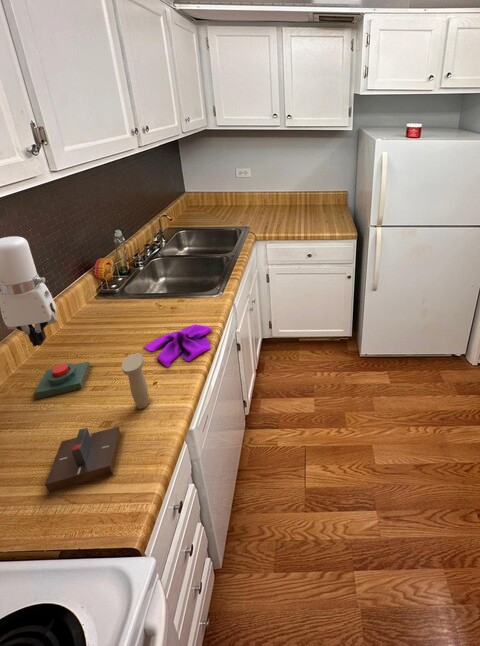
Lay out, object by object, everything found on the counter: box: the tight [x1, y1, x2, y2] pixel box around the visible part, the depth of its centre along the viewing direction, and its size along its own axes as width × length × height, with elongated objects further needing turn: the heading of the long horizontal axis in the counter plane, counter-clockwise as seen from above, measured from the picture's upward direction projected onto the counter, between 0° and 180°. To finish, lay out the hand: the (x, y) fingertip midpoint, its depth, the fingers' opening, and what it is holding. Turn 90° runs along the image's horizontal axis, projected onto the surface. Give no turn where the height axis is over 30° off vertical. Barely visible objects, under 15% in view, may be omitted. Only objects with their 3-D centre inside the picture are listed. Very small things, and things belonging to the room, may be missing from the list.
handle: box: [121, 352, 150, 410], centre depth 88 cm, size 5×6×15 cm
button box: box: [33, 361, 91, 400], centre depth 97 cm, size 11×9×4 cm
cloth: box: [144, 324, 213, 368], centre depth 112 cm, size 22×19×6 cm
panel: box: [44, 426, 122, 494], centre depth 76 cm, size 12×10×3 cm
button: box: [52, 363, 69, 377], centre depth 97 cm, size 4×4×2 cm
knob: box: [72, 427, 92, 466], centre depth 75 cm, size 6×2×5 cm, turn 19°
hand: (39, 342), depth 91 cm, fingers closed
